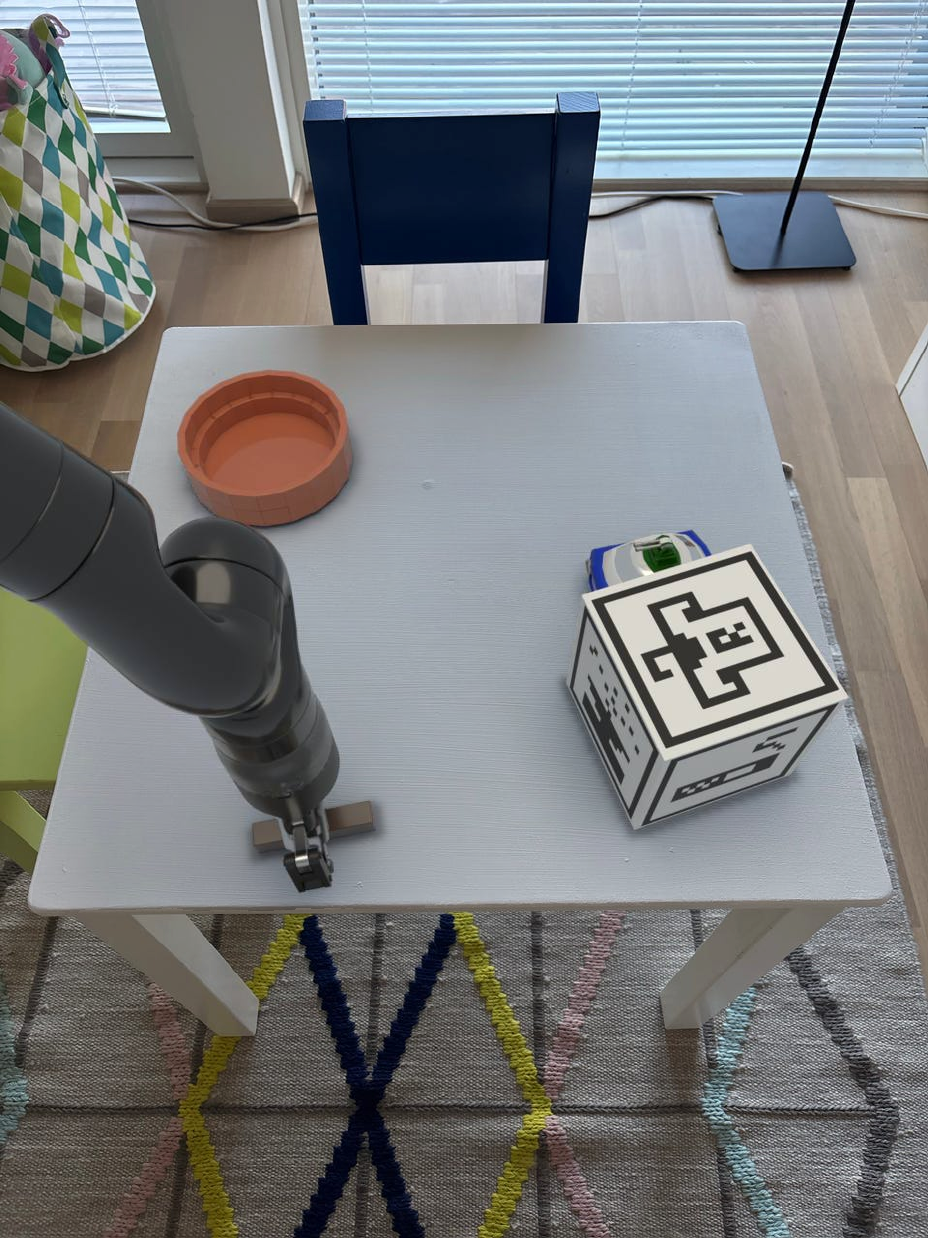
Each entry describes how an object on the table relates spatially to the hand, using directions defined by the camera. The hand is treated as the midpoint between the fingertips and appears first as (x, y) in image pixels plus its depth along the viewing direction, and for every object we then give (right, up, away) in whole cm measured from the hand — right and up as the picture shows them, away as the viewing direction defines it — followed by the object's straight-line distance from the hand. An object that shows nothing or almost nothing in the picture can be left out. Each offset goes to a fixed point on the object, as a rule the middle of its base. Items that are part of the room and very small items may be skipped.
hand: (315, 822), depth 76 cm
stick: (0, -1, +2) cm, 2 cm away
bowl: (-8, +34, +24) cm, 42 cm away
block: (+32, +7, +7) cm, 33 cm away
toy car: (+31, +19, +14) cm, 39 cm away
